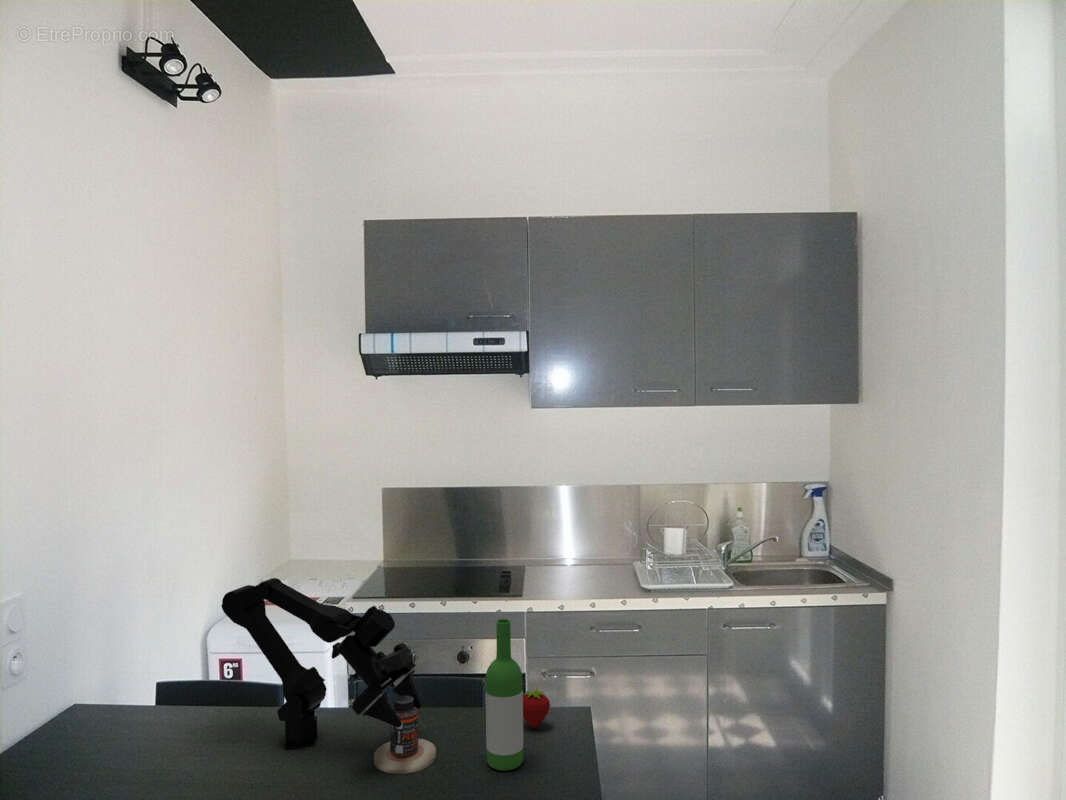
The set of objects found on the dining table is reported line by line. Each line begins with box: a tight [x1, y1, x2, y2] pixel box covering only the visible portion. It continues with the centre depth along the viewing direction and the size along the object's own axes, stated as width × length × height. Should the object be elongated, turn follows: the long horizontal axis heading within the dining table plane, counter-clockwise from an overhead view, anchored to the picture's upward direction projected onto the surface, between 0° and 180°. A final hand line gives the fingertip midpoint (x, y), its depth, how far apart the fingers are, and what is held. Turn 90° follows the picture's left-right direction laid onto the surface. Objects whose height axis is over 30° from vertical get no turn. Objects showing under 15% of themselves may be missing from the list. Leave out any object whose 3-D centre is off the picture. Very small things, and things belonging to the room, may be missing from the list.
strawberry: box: [523, 683, 551, 729], centre depth 170 cm, size 6×8×10 cm
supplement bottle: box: [389, 695, 419, 757], centre depth 157 cm, size 6×6×11 cm
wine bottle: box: [485, 618, 524, 771], centre depth 154 cm, size 8×8×30 cm
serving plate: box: [373, 737, 437, 775], centre depth 157 cm, size 13×13×1 cm
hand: (410, 716), depth 156 cm, fingers open, 9 cm apart
